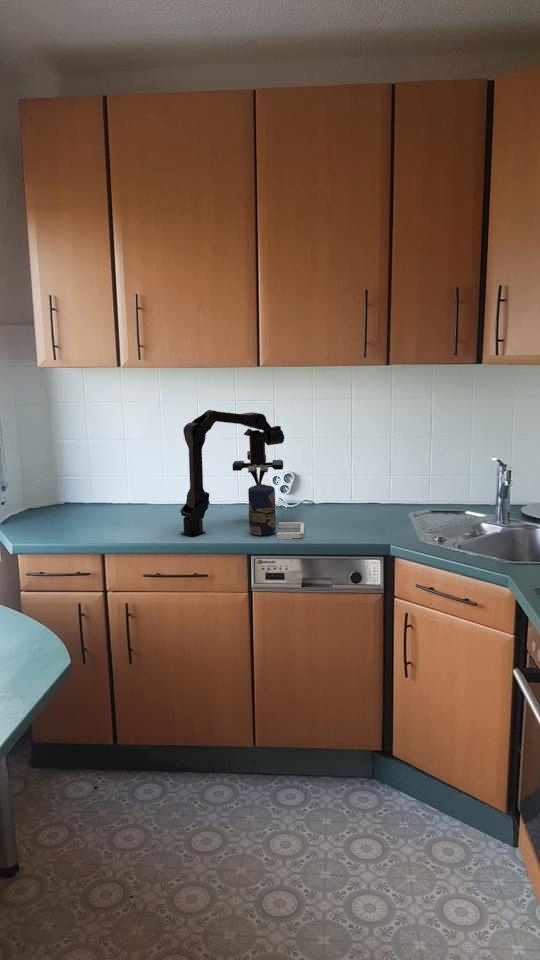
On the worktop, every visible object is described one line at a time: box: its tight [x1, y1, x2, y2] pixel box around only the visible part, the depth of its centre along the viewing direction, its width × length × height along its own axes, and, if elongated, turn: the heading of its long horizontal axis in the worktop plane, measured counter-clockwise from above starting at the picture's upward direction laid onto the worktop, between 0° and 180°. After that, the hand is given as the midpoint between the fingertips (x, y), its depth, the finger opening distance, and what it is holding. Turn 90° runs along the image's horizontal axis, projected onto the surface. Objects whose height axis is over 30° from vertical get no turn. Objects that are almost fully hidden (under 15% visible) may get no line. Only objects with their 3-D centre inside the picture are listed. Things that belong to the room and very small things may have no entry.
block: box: [276, 521, 305, 540], centre depth 265 cm, size 9×15×2 cm, turn 177°
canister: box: [247, 483, 277, 536], centre depth 264 cm, size 10×10×18 cm
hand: (258, 487), depth 279 cm, fingers closed
